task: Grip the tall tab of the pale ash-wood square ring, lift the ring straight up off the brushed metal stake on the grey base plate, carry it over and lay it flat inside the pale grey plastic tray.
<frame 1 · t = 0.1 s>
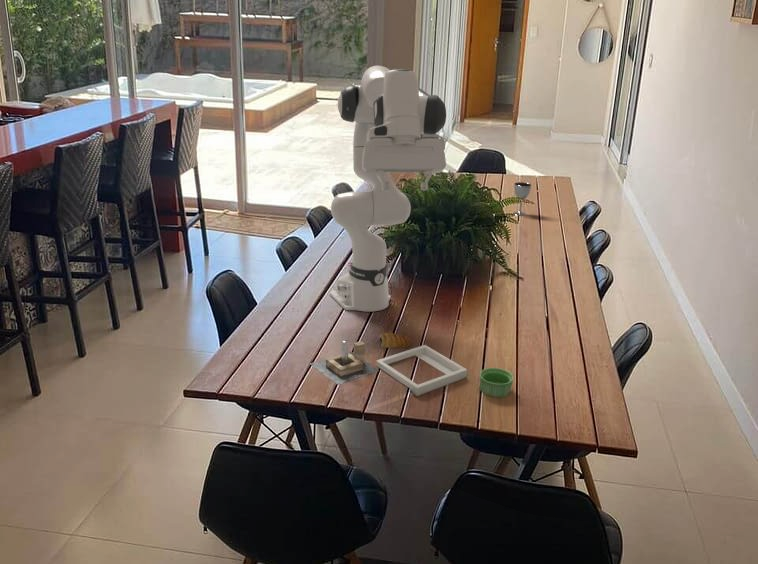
hand: (405, 189, 170), 54 cm above the table, tool tilted 30°, fingers open, 8 cm apart
ring: (344, 367, 197), point 1 cm above the table, touching stake
wine glass: (519, 214, 352), on the table
pastry: (392, 346, 214), on the table
ramekin: (495, 390, 191), on the table
tray: (420, 373, 198), on the table
stake: (344, 370, 198), on the table
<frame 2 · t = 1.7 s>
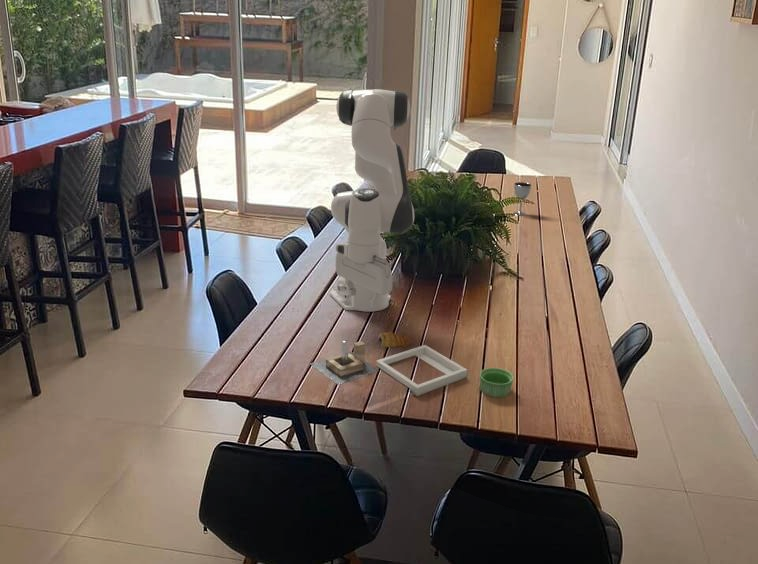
hand: (362, 300, 192), 21 cm above the table, tool pointing down, fingers open, 8 cm apart
nothing on the table moved.
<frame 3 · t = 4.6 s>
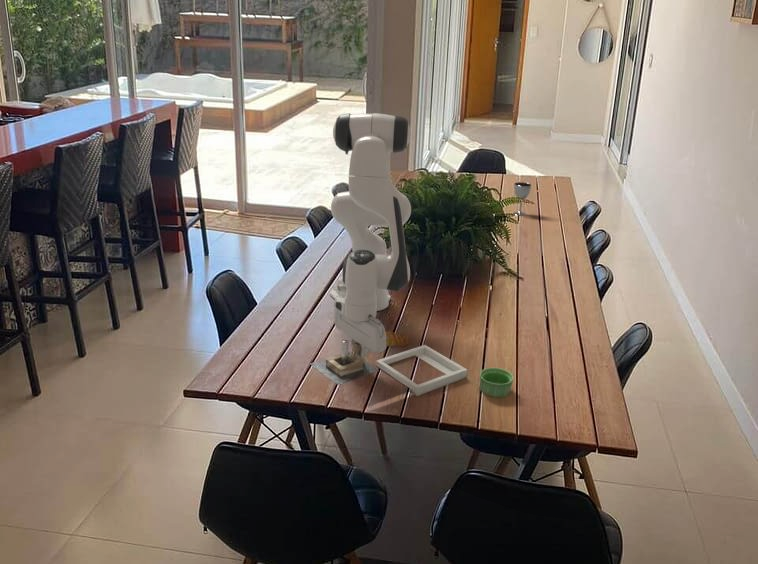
hand: (359, 354, 199), 4 cm above the table, tool pointing down, fingers closed on ring
ring: (344, 367, 197), point 1 cm above the table, touching gripper, stake
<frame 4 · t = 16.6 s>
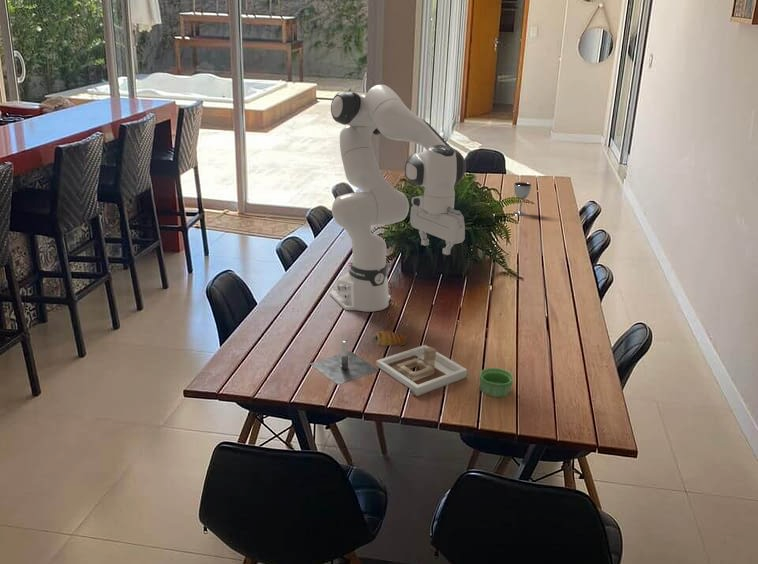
hand: (435, 249, 207), 29 cm above the table, tool pointing down, fingers open, 8 cm apart
ring: (415, 373, 197), point 1 cm above the table, touching tray
at the end: ring inside the target area on the tray (2.0 cm from its centre), point 0.6 cm above the tray's base; ring tilted 0°; the gripper is holding nothing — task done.
